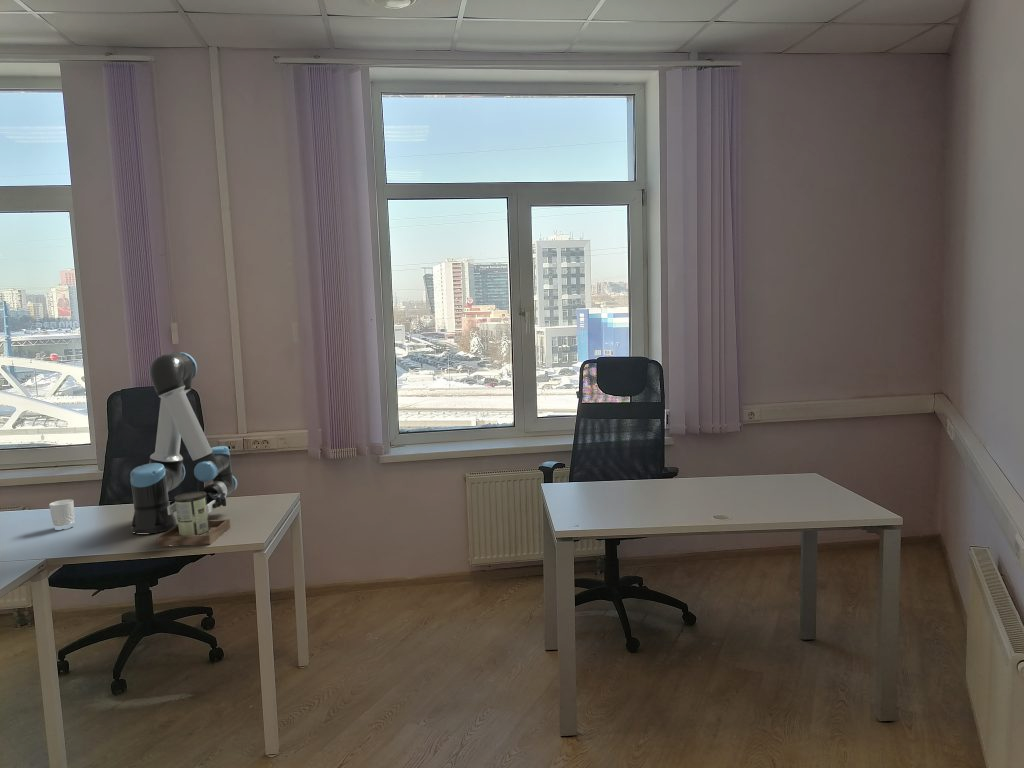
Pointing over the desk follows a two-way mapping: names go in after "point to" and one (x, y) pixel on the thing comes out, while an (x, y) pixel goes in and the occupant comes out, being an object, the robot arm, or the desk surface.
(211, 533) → the holder tray
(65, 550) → the desk surface
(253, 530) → the desk surface
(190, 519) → the coffee can
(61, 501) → the white cup
